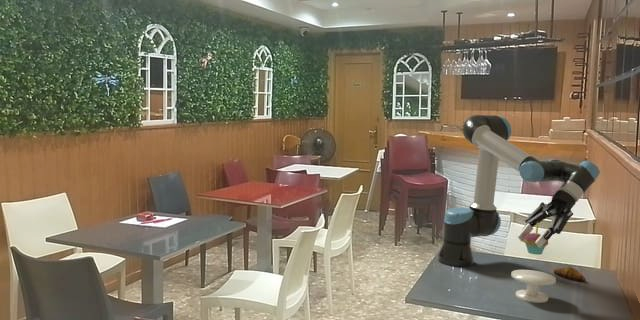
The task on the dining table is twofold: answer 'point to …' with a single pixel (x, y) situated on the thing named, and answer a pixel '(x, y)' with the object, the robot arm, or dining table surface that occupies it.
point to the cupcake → (531, 240)
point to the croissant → (570, 274)
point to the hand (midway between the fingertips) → (528, 241)
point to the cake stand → (532, 284)
